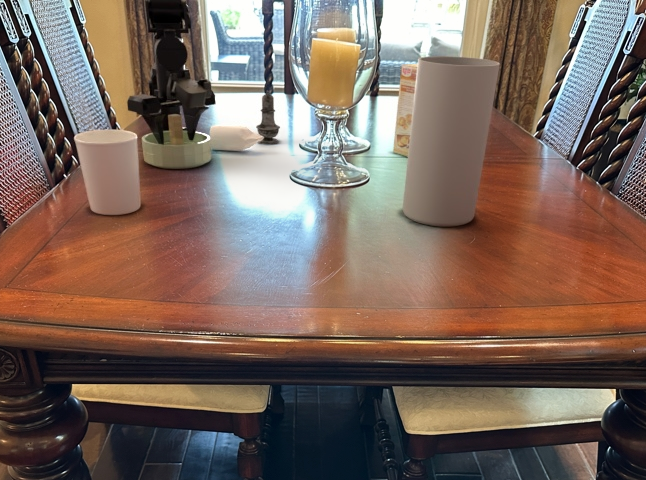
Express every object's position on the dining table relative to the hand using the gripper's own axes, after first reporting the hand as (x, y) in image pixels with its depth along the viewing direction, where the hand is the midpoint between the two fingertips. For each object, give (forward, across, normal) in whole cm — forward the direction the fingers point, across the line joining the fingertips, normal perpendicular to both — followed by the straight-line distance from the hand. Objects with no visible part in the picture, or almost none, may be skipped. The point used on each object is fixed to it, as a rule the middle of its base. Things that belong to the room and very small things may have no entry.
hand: (176, 143), depth 130 cm
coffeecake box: (+4, +49, -32) cm, 59 cm away
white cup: (+4, -27, -17) cm, 32 cm away
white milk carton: (+4, +16, -2) cm, 17 cm away
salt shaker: (+4, +28, 0) cm, 28 cm away
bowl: (+4, 0, 0) cm, 4 cm away
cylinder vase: (+4, +10, -59) cm, 60 cm away
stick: (+3, 0, 0) cm, 3 cm away
